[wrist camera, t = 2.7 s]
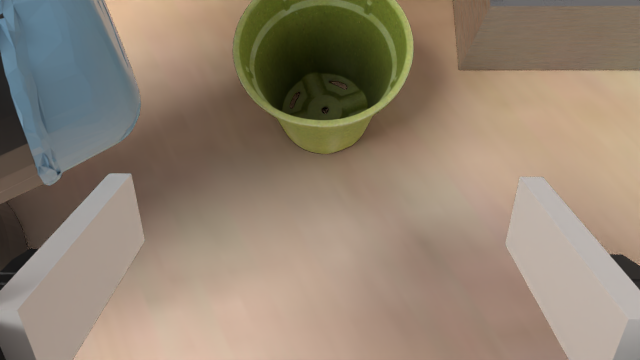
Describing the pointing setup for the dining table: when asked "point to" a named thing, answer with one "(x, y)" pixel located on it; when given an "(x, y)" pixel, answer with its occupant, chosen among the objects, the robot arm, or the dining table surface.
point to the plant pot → (323, 64)
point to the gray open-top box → (547, 34)
